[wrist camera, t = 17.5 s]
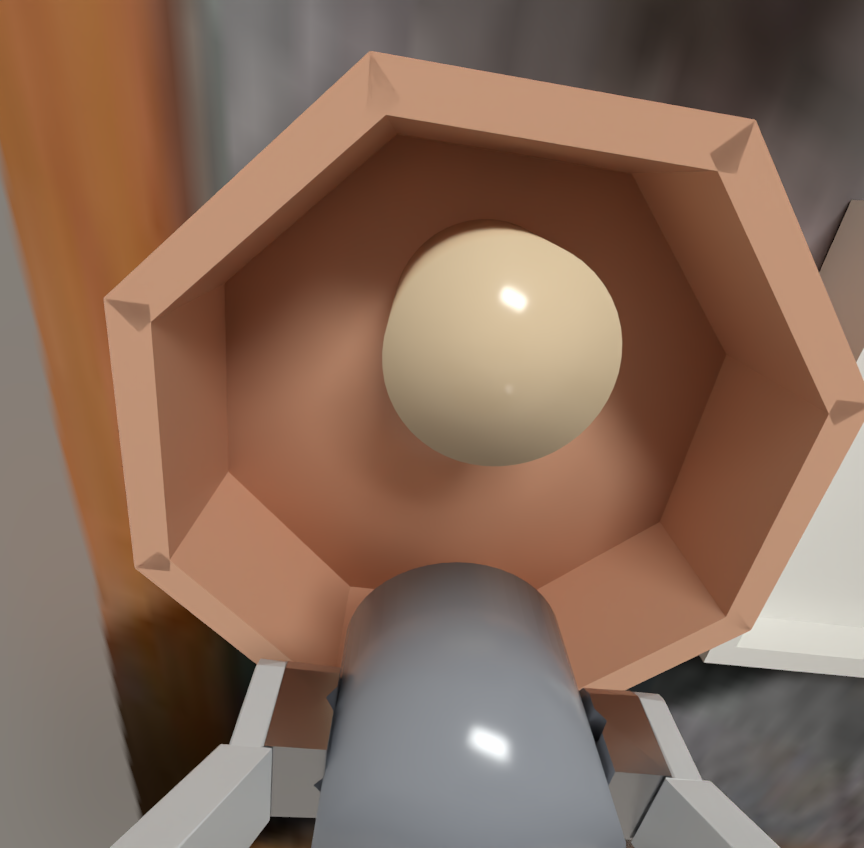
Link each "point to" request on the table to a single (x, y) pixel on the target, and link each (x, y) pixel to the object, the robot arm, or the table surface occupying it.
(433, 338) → the sand pebble
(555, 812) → the slate pebble
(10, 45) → the table surface
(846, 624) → the tray
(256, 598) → the bowl
